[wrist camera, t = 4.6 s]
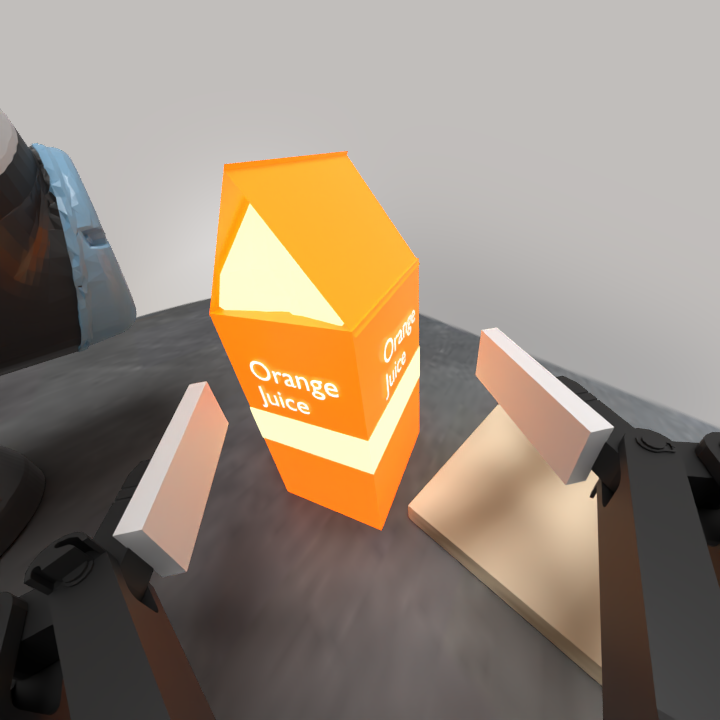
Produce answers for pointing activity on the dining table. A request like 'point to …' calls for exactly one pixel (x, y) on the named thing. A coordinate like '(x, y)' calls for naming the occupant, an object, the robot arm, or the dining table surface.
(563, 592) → the serving board
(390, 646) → the dining table surface
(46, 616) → the robot arm
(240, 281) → the orange juice
